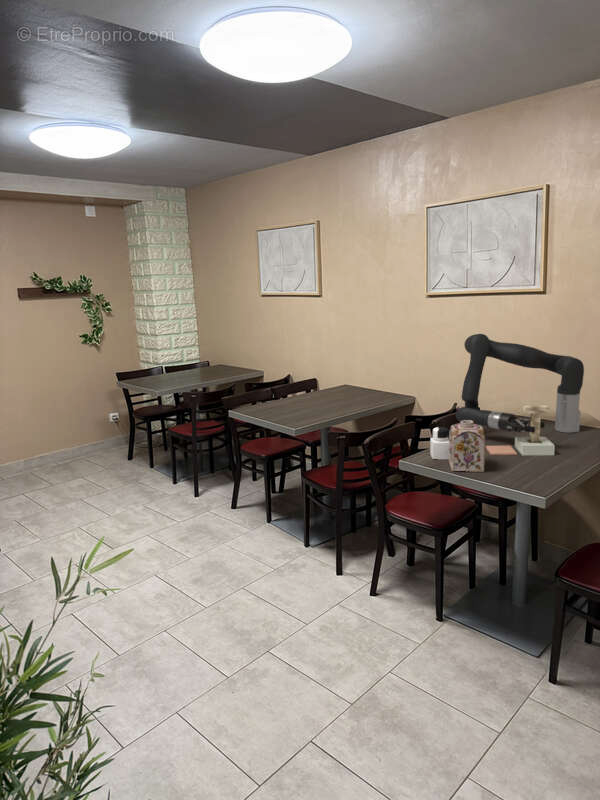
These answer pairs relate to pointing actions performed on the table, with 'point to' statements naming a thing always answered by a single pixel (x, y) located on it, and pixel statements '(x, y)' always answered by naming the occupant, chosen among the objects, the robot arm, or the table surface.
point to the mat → (501, 450)
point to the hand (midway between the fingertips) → (539, 427)
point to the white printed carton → (439, 443)
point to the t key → (535, 420)
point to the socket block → (534, 446)
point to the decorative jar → (466, 447)
